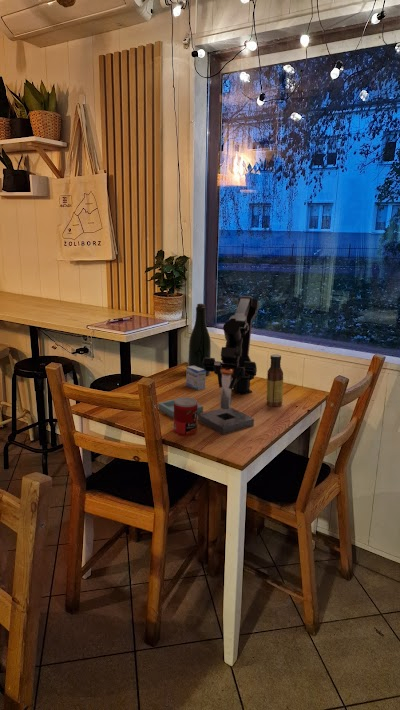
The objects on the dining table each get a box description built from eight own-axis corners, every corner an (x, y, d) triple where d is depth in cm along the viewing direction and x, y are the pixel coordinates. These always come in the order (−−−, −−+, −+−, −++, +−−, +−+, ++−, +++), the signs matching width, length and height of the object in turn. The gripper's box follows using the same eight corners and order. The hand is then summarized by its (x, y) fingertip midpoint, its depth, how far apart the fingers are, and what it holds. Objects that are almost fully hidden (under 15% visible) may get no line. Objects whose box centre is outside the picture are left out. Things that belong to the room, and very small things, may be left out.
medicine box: (185, 385, 206) (186, 366, 204) (193, 383, 209) (193, 365, 207) (197, 390, 200) (198, 371, 198) (205, 388, 203) (206, 369, 201)
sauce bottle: (283, 402, 189) (287, 354, 184) (280, 407, 184) (284, 358, 178) (267, 400, 191) (270, 352, 186) (263, 405, 186) (267, 356, 180)
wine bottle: (186, 375, 220) (187, 305, 211) (190, 369, 230) (191, 301, 221) (208, 377, 218) (210, 306, 209) (211, 371, 228) (214, 302, 219)
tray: (184, 403, 186) (184, 397, 185) (202, 412, 177) (203, 406, 176) (158, 409, 179) (158, 403, 178) (176, 419, 170) (176, 413, 169)
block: (228, 412, 178) (228, 406, 177) (253, 425, 167) (254, 418, 166) (197, 420, 169) (198, 414, 169) (222, 434, 159) (223, 427, 158)
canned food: (188, 438, 155) (189, 406, 152) (168, 432, 159) (169, 401, 156) (201, 430, 161) (202, 400, 159) (181, 425, 165) (182, 395, 163)
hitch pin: (226, 403, 170) (227, 366, 166) (234, 408, 166) (236, 369, 163) (216, 406, 167) (217, 368, 164) (224, 410, 164) (226, 371, 160)
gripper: (204, 335, 166) (195, 374, 159) (257, 339, 162) (250, 380, 154) (209, 351, 176) (200, 389, 168) (259, 355, 171) (253, 394, 164)
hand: (225, 388), depth 164 cm, fingers closed on hitch pin, 4 cm apart
